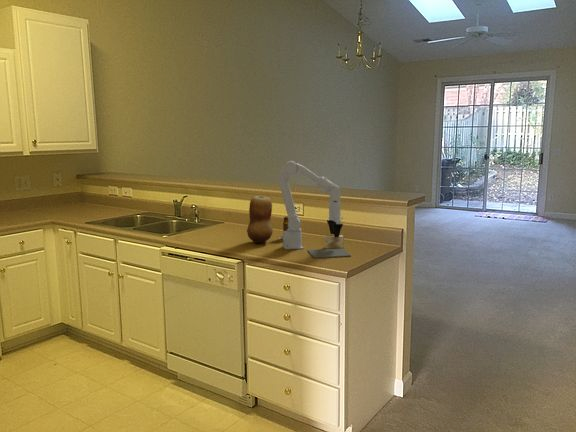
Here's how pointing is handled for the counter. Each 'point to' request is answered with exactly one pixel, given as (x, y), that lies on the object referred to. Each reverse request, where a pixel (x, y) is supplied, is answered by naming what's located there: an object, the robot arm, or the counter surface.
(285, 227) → the condiment
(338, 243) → the tile
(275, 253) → the counter surface
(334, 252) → the mat
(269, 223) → the butternut squash
